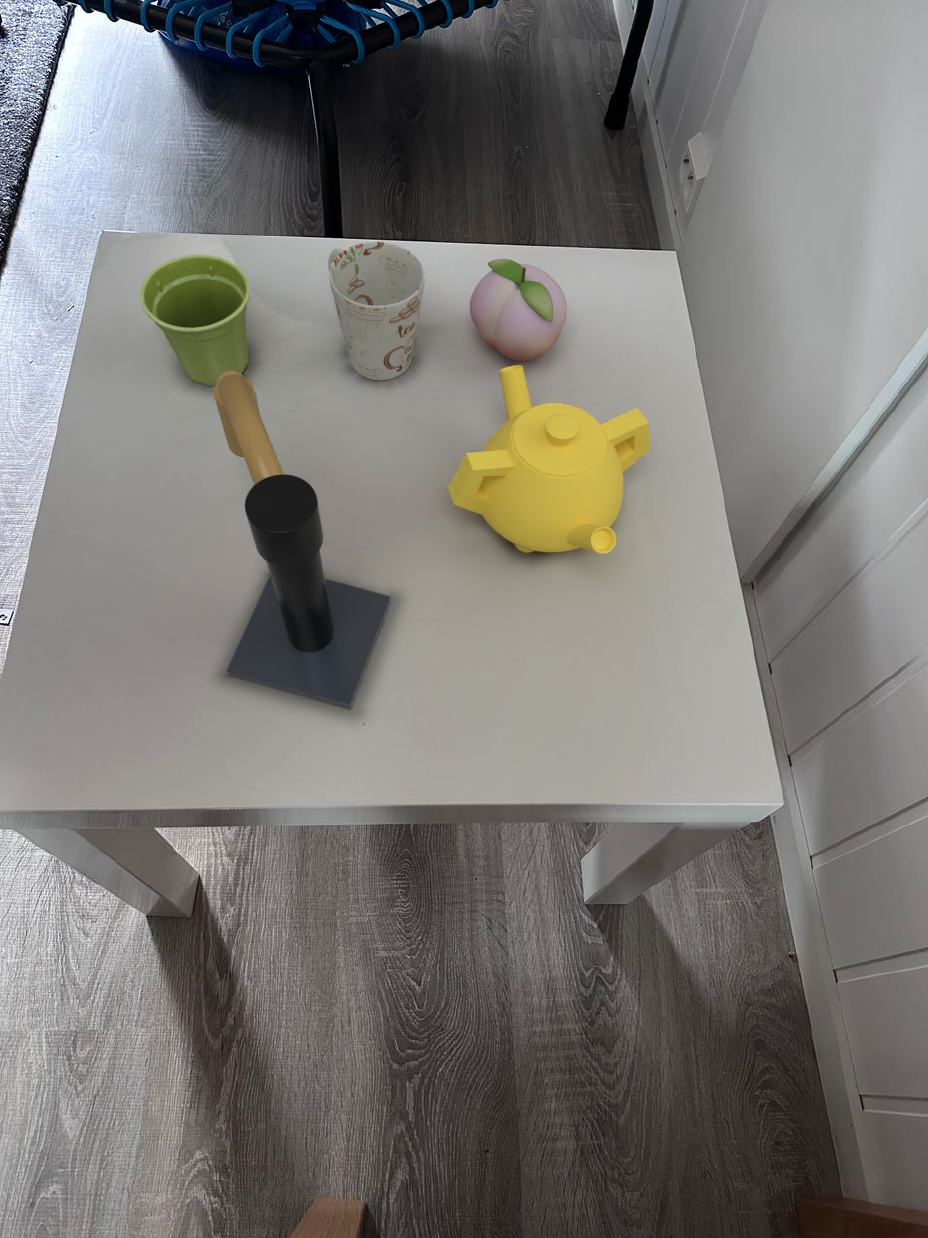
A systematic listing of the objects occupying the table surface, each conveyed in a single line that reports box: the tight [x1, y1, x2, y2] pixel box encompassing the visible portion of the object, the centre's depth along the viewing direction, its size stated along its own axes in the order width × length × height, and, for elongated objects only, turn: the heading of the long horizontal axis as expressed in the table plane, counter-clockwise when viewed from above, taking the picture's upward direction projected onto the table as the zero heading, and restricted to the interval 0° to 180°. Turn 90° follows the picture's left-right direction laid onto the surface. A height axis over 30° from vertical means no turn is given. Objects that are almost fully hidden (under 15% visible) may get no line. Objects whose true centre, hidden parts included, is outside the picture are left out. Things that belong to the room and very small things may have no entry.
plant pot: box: [139, 254, 251, 387], centre depth 77 cm, size 9×9×9 cm
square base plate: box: [226, 549, 391, 711], centre depth 62 cm, size 10×10×14 cm
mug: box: [327, 241, 426, 381], centre depth 79 cm, size 8×13×10 cm, turn 39°
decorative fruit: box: [469, 258, 568, 361], centre depth 80 cm, size 9×8×10 cm
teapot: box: [447, 364, 651, 555], centre depth 70 cm, size 20×18×11 cm
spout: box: [213, 370, 324, 567], centre depth 57 cm, size 16×4×8 cm, turn 23°
